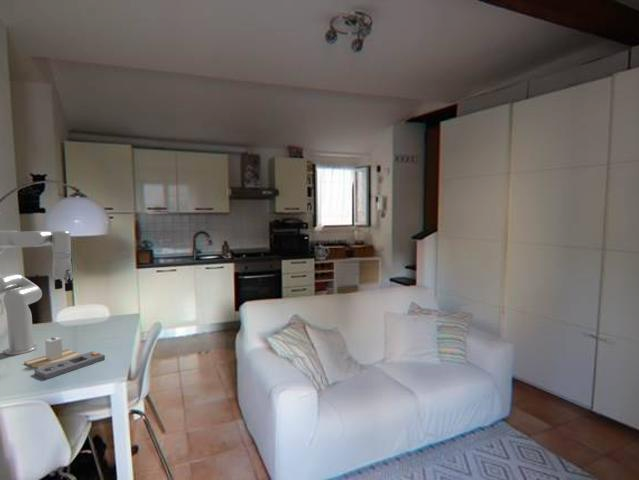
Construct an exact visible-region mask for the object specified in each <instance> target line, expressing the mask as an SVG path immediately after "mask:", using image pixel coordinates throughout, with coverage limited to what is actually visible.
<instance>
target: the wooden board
mask: <svg viewBox="0 0 639 480" xmlns="http://www.w3.org/2000/svg"><path fill="white" fill-rule="evenodd" d="M79 355H83V353H79V352H77V351H74V350H71V349H68V348H67V349H64V350H63V349H62V358H59V359H55V360H52V361H51V360H48V359H46V355H44V356H43V355H42V356H40V357H36V358H33V359H29V360H27V361H24V365H27V366H29V367H32V368H33V369H38V368H41V367H44V366H47V365H50V364H54V363H57V362H60V361H63V360H66V359H70V358H73V357H76V356H79Z"/></svg>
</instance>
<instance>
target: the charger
mask: <svg viewBox="0 0 639 480" xmlns="http://www.w3.org/2000/svg"><path fill="white" fill-rule="evenodd" d="M44 342H45V345H44V346H45V356H46V359H48V360H51V361H52V360H55V359H59V358H62V351H63V345H62V338H61V337H57V336H55V337H54V336H53V337H50V338H47V339H45V340H44Z"/></svg>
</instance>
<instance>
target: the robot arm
mask: <svg viewBox="0 0 639 480" xmlns="http://www.w3.org/2000/svg"><path fill="white" fill-rule="evenodd" d="M45 246H46V247H47V246H52V249H51V250H52V268H51V269H52V277H53V281H54V289H55V290H62V289H63V280H64V282H65V283H64V291H65V292H71V291H73V286H74V285H73V282H74V276H75V274H74V273H73V264H72V242H71V233H70V231H69V230H33V231H31V230H30V231H19V230H14V229H11V230H9V229H8V230H1V229H0V255H1V254H2V253H4V252H5V251H6V249H8V248H9V249H11V248H12V249H13V248H38V247H45ZM0 295H4V296H3V300H2V301H3V305H4V308H5V311H6V312H5V313H6V322H7V323H6V324H7V337H8V348H6V349H5V350H4V354H5V355H8V356H15V355H16V356H17V355H23V354H27V353H30V352H32V351H35V350H37V349H38V344H35V343H34V333H33V317H32V311H31V309H30V307H29V305H31V304H34V303H36V302H38V301H39V300H41V298H42V296H43V291H42V289H41V288H40V287H39V286H38V285H37V284H35V283H34V282H32V281H31V280H29V278H27V277H25V276H23V275H21V274H19V273H16V272H15V273H14V272H9V273H0Z"/></svg>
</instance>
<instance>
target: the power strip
mask: <svg viewBox="0 0 639 480" xmlns="http://www.w3.org/2000/svg"><path fill="white" fill-rule="evenodd" d="M105 359H106V354H102V353H100V352H98V351H89V352H86V353H82V355H79V356H76V357H73V358H70V359H66V360H63V361H60V362H57V363H54V364H50V365H47V366H44V367H41V368H38V369H36V368H33V369H34V375H36V376H38V377H40V378H43V379H44V380H49V379H51V378H54V377H58V376H61V375H63V374H66V373H69V372H71V371H72V372H73V371H74V370H77V369H81V368H84V367H86V366H87V367H88V366H89V365H93V364H96V363H98V362H101V361H104V360H105Z"/></svg>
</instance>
